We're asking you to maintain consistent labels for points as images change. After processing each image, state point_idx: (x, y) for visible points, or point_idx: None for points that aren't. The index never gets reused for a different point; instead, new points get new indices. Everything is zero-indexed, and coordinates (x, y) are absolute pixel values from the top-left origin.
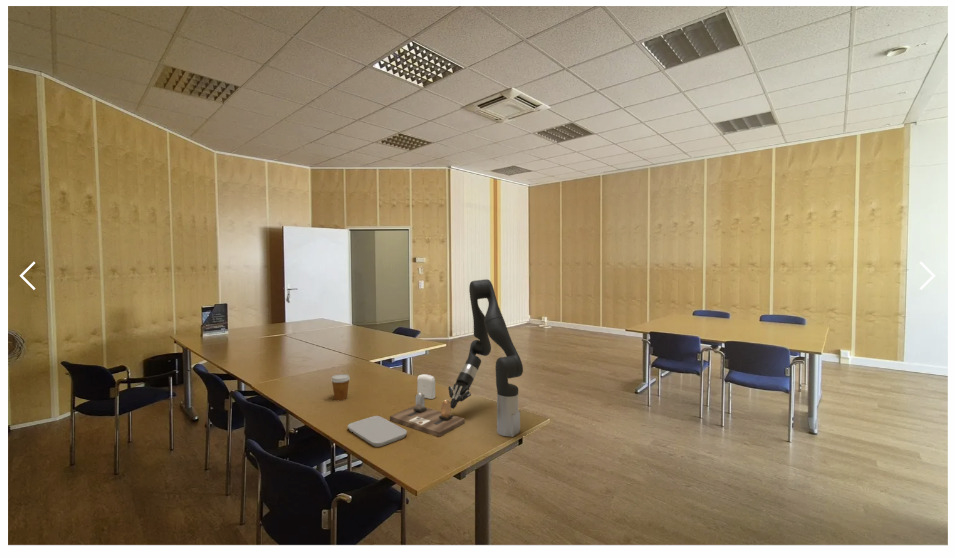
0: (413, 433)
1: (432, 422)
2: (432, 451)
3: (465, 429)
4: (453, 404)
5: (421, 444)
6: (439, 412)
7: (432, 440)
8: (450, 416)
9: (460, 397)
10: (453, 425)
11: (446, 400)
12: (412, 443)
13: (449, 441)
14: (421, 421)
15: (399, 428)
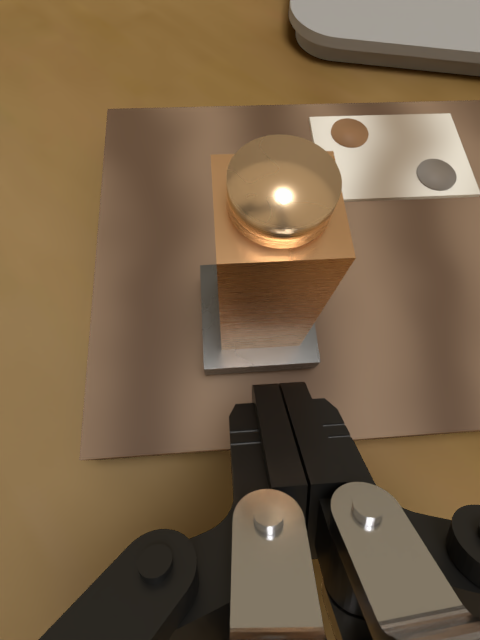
0: (299, 92)
1: None
2: (41, 23)
3: (9, 344)
4: (253, 423)
5: (150, 39)
6: (437, 402)
7: (128, 93)
8: (202, 329)
9: (121, 593)
10: (98, 268)
11: (257, 169)
12: (201, 24)
13: (18, 136)
14: (365, 151)
15: (383, 31)
